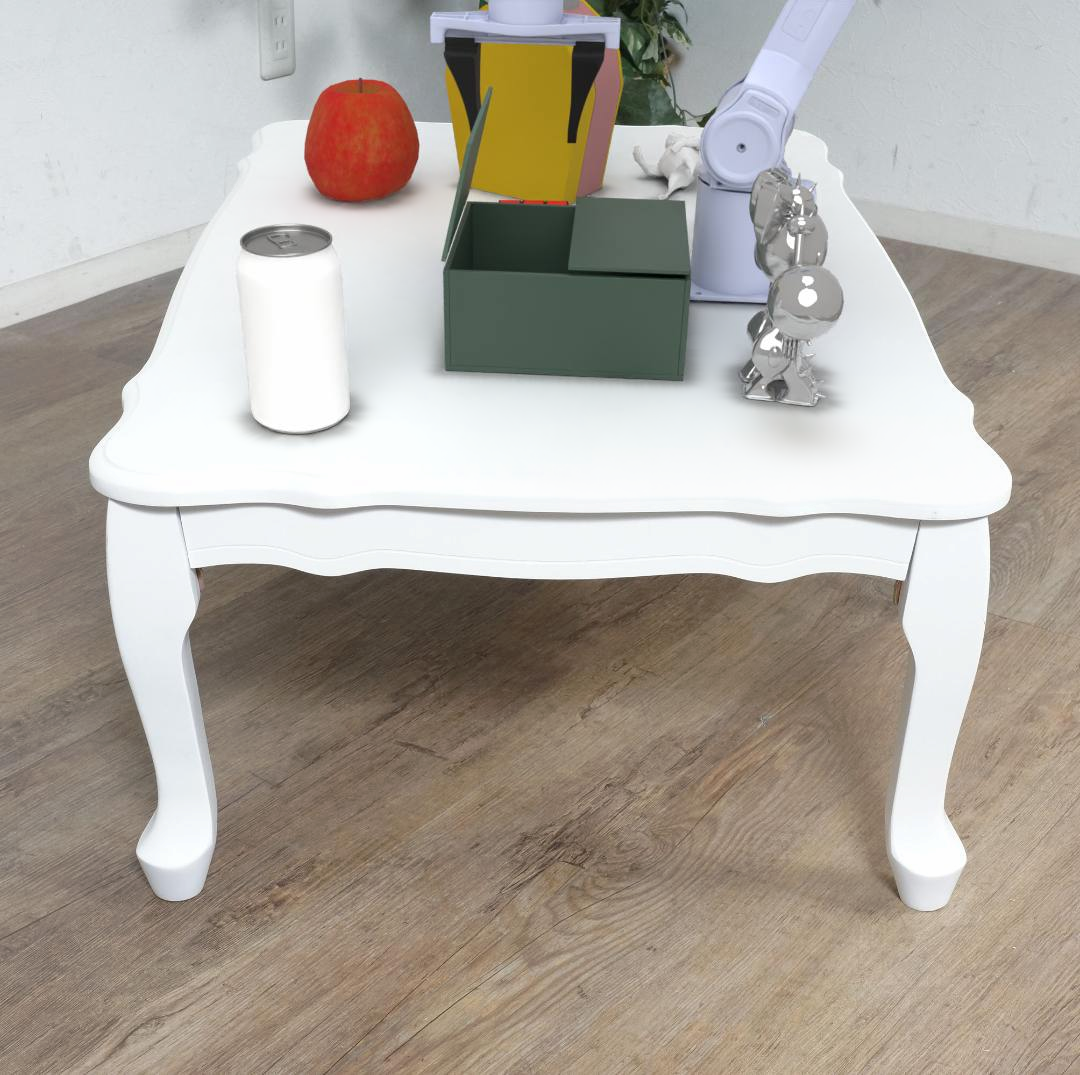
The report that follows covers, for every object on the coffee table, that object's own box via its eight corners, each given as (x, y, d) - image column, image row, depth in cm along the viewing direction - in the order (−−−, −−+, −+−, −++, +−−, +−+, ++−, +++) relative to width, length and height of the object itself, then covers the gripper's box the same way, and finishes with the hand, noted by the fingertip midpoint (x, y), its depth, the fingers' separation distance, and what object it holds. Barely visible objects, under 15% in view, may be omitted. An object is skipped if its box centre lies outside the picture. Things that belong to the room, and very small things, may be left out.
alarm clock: (620, 189, 129) (631, -12, 119) (577, 211, 123) (584, 2, 113) (494, 162, 135) (493, -31, 125) (447, 182, 129) (443, -18, 119)
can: (269, 444, 84) (250, 264, 77) (239, 403, 88) (219, 229, 82) (365, 424, 86) (354, 247, 80) (331, 385, 91) (318, 215, 85)
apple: (417, 211, 122) (413, 93, 116) (299, 210, 122) (290, 92, 116) (424, 176, 131) (420, 65, 125) (314, 174, 131) (306, 63, 125)
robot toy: (840, 448, 85) (876, 221, 77) (743, 444, 85) (769, 217, 77) (811, 351, 97) (839, 148, 89) (727, 348, 97) (748, 144, 89)
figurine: (623, 180, 125) (627, 142, 135) (676, 218, 127) (676, 178, 137) (661, 128, 122) (663, 94, 132) (715, 168, 124) (713, 131, 134)
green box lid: (471, 144, 85) (466, 142, 85) (445, 262, 89) (440, 261, 89) (493, 87, 97) (489, 86, 97) (469, 193, 101) (465, 192, 101)
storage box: (683, 380, 93) (692, 271, 88) (445, 370, 93) (442, 261, 89) (678, 300, 105) (685, 200, 101) (468, 291, 106) (466, 191, 101)
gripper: (623, -51, 102) (615, 127, 109) (436, -56, 102) (440, 121, 109) (623, -35, 96) (614, 152, 103) (424, -41, 96) (429, 145, 104)
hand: (524, 138), depth 106 cm, fingers open, 7 cm apart
